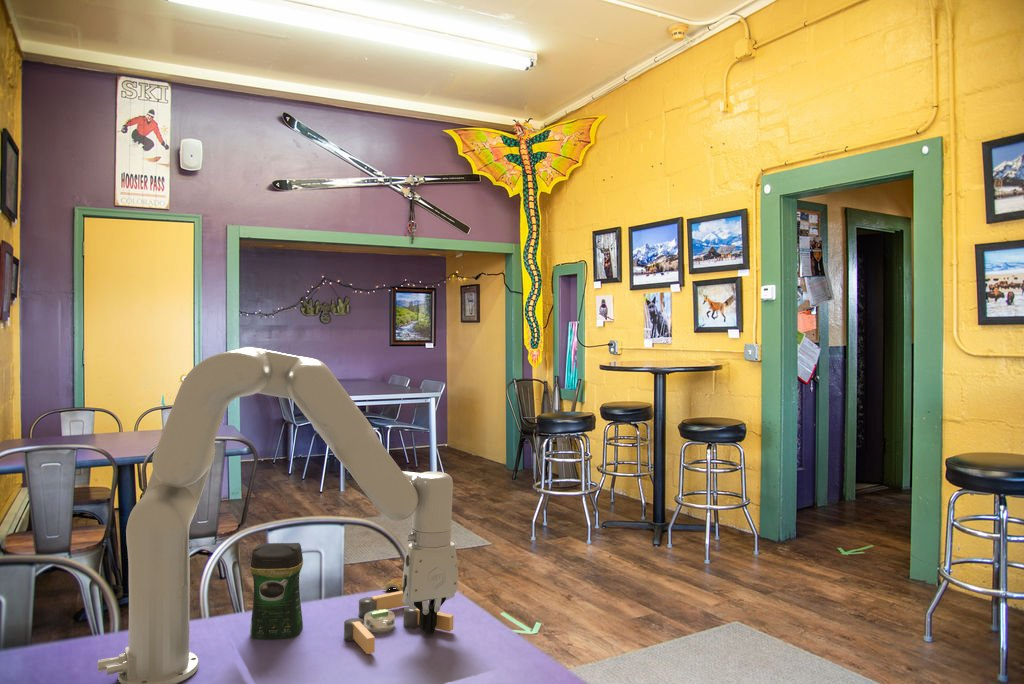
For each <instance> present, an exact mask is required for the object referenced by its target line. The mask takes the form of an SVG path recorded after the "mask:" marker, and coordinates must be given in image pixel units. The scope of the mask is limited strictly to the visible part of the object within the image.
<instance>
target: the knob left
mask: <svg viewBox="0 0 1024 684" xmlns="http://www.w3.org/2000/svg"><path fill="white" fill-rule="evenodd" d="M343 623H344V624H343V640H344V641H346V642H350V643H351V642H352V643H353V642H355V643H356V644H357V645H358V646H359V647H360V648H361V650H363V652H365V654H366V655H369V654H373V653H375V648H376V647H375V640H376V639H375V636H374V634H373V633H370V632H369V631H368V630H367V629H366V628H365V627H364V619H363V618H360V617H355V618H353V617H352V618H348V619H346V620H344V622H343Z"/></svg>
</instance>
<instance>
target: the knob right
mask: <svg viewBox="0 0 1024 684" xmlns="http://www.w3.org/2000/svg"><path fill="white" fill-rule="evenodd" d="M402 615H403V623H402V625H403V627H405V628H406V629H415V628H416V629H417V628H420V627H419V616H420V610H419V609H417V608H416V607H415V606H405V607H404V608H403V614H402ZM454 617H455V616H454V614H451V613H446V612H442V611H439V612H437V625H436V627H435V630H439V631H446V632H448V633H450V632H452V630H454Z"/></svg>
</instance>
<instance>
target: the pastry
mask: <svg viewBox="0 0 1024 684" xmlns="http://www.w3.org/2000/svg"><path fill="white" fill-rule="evenodd" d="M402 581H403V576H402V577H396V578H392V579H390V580H388V581H387V582H386V583H385V584H384V587H383V588H382V590H386V591H383V593H393V592H398V591H402ZM393 588H396V589H393ZM389 589H390V590H389Z"/></svg>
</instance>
